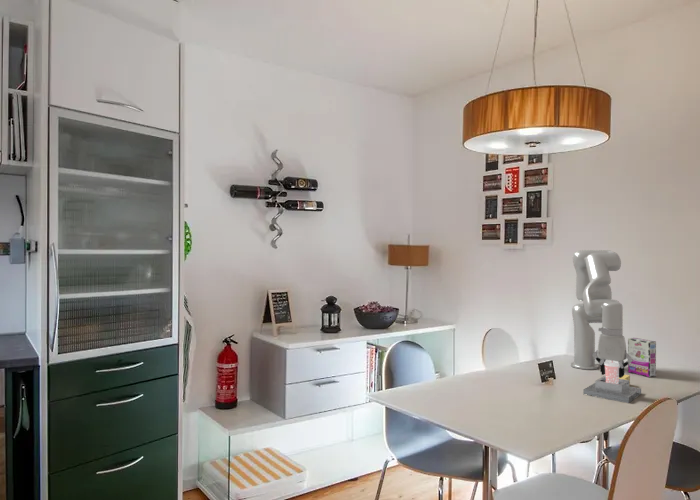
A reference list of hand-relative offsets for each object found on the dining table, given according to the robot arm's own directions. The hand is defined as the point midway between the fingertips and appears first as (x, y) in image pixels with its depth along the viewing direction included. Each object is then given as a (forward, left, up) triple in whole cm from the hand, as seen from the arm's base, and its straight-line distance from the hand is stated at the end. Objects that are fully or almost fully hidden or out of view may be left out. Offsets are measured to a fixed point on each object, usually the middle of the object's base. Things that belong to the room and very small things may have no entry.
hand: (612, 375), depth 213 cm
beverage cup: (0, 0, -4) cm, 4 cm away
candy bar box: (-42, 0, -8) cm, 43 cm away
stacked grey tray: (0, 0, -8) cm, 8 cm away
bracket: (-12, 0, -8) cm, 14 cm away
